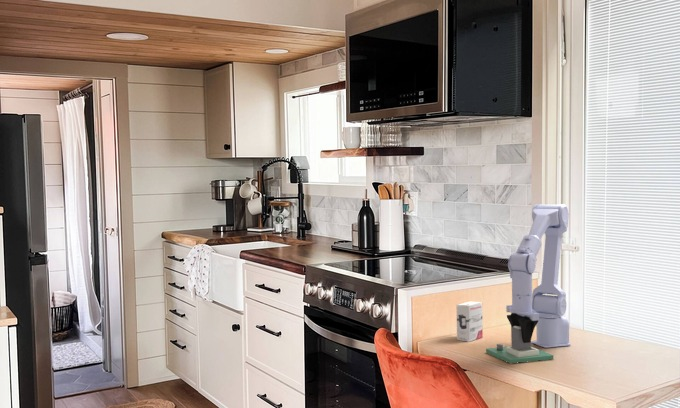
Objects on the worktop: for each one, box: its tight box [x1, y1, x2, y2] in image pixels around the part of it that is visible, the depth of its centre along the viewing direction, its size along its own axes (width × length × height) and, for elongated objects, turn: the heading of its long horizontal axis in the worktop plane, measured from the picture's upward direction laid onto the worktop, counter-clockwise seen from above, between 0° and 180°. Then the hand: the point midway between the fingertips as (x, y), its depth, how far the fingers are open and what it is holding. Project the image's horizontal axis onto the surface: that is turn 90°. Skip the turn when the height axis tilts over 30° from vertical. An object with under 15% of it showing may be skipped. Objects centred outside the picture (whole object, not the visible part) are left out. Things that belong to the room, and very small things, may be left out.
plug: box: [510, 326, 532, 350], centre depth 200 cm, size 4×4×6 cm
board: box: [485, 343, 554, 364], centre depth 203 cm, size 14×14×3 cm
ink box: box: [456, 300, 484, 343], centre depth 225 cm, size 8×5×12 cm, turn 137°
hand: (522, 340), depth 200 cm, fingers closed on plug, 4 cm apart
